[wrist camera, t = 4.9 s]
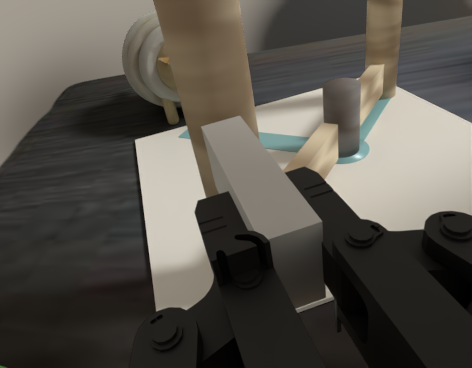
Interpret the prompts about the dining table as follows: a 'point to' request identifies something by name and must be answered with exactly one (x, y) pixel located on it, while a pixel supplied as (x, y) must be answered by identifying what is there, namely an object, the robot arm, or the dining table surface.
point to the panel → (222, 80)
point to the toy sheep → (150, 65)
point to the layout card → (339, 178)
